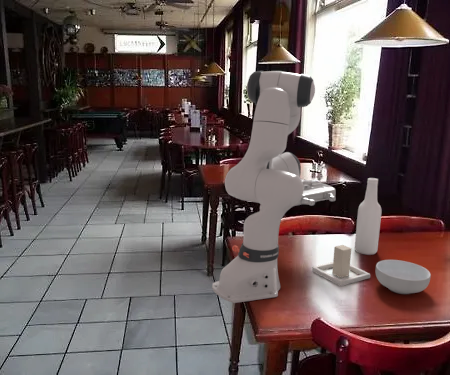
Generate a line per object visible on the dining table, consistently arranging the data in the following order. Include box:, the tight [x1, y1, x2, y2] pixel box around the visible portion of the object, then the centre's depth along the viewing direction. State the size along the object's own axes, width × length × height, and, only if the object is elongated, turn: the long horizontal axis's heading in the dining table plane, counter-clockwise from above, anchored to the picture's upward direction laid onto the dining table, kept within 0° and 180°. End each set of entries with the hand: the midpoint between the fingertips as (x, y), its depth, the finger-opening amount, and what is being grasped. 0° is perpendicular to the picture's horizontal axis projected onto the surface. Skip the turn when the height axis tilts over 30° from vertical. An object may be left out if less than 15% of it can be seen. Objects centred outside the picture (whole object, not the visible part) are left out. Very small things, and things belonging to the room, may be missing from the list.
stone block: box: [331, 244, 352, 278], centre depth 152 cm, size 4×4×10 cm
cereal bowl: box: [374, 259, 432, 295], centre depth 143 cm, size 17×17×7 cm
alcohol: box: [354, 177, 383, 256], centre depth 173 cm, size 9×9×30 cm
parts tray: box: [311, 261, 371, 287], centre depth 153 cm, size 14×14×2 cm
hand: (323, 201), depth 158 cm, fingers open, 8 cm apart
